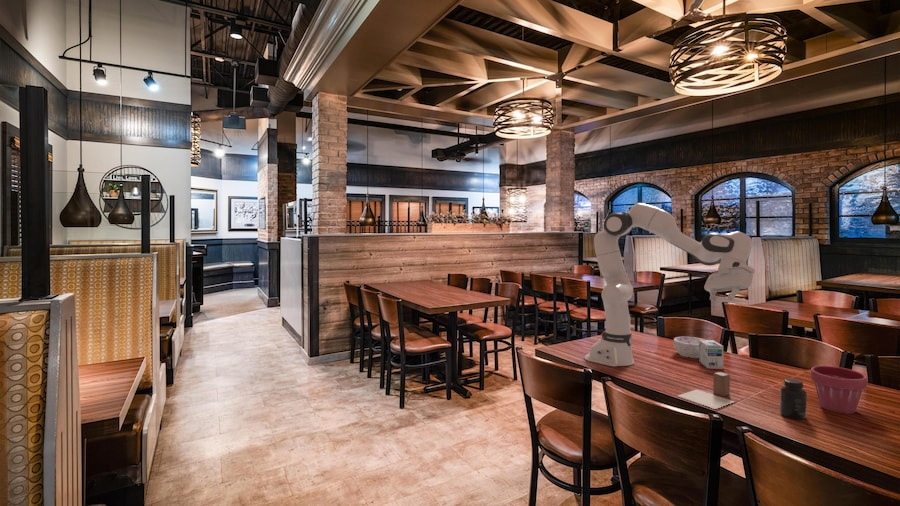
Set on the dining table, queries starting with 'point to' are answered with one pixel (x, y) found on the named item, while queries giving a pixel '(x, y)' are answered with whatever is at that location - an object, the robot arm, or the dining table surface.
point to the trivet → (705, 399)
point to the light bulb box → (711, 354)
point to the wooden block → (721, 384)
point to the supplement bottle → (793, 399)
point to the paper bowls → (687, 346)
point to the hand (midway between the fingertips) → (721, 299)
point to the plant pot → (838, 388)
